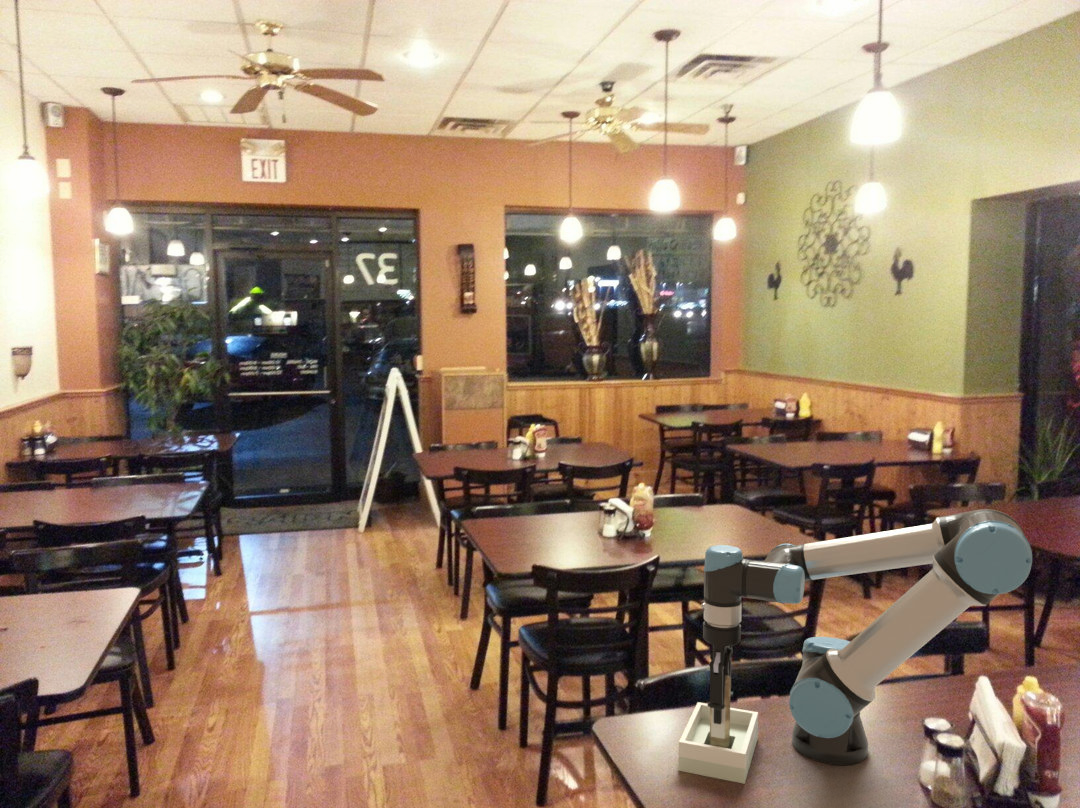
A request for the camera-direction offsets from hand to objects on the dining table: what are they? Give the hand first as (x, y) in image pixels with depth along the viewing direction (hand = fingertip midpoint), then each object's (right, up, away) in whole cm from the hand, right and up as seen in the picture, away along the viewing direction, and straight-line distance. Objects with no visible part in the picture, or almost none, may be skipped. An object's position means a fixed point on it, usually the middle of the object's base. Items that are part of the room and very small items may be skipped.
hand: (719, 731), depth 171 cm
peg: (0, -4, 0) cm, 4 cm away
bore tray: (0, -5, 0) cm, 5 cm away
